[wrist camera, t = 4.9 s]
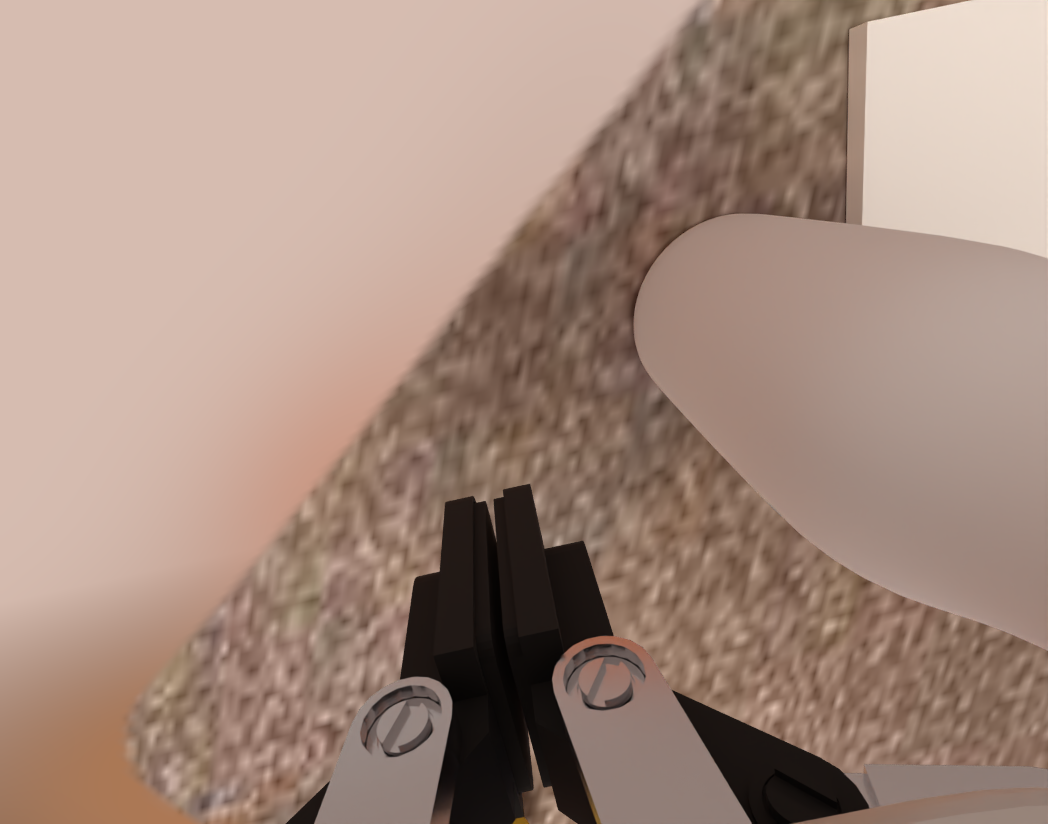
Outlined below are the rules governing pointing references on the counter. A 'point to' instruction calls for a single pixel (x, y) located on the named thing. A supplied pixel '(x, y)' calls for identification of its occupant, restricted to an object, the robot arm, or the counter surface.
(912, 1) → the counter surface
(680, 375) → the milk bottle
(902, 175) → the cutting board
